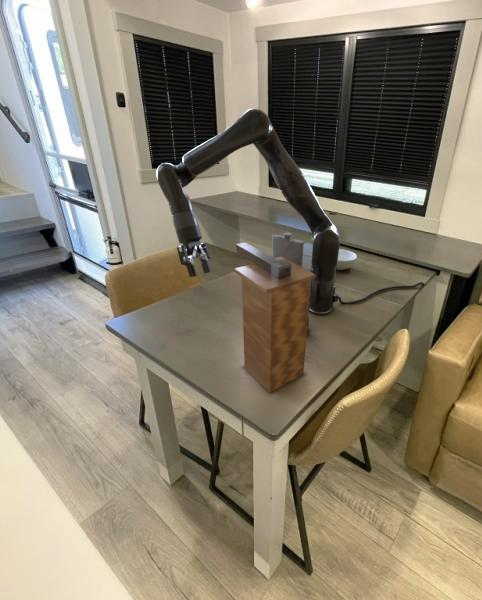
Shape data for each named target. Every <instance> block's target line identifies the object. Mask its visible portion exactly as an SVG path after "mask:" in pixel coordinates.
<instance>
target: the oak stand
mask: <svg viewBox="0 0 482 600" xmlns="http://www.w3.org/2000/svg"><path fill="white" fill-rule="evenodd" d="M275 259H277V260H278V261H280V260H286V261H288V262H290V263H292V267H291V275H290V276H287V277H284V278H280V279H277V278H276V277H274V276H272V275H271V273H270V272H268V271H266V270H265V269H263V268H261V267H260V266H258V265H256V264H255V263H251V264H247V265H242V266H238V267H235V268H233V272H234V273H235V274H236V275H238V276H240V277H241V296H242V298H241V303H242V325H243V326H242V331H243V332H242V333H243V334H242V335H243V360H244V361H243V362H244V368H245V369H246V370H247V372H249V373H250V375H252V376H253V377H254V378H255V380H257V381H258V382H259V383H260V384H261V385H262V386H263V387H264V388H265V389H266V390H267V392H269V393H272V392H273V391H275V390H277V389H280V388H281V387H283V386H285V385H287V384H288V383H290V382H293V381H294V380H295V379H298V378H300V377H301V376H303V375H304V371H305V370H304V369H305V356H306V347H307V346H306V345H307V335H308V332H307V323H308V317H309V313H308V311H309V299H310V286H311V279H314V278H316V274H314V273H312V272H311V270H308V269H306V268H304V267H303V266H302V267H300V266H299V265H297V264H295V263H293V262H291V261H289V260H287V259H285V258H283V257H278V258H275ZM309 312H310V311H309Z"/></svg>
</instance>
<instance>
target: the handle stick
mask: <svg viewBox="0 0 482 600" xmlns="http://www.w3.org/2000/svg"><path fill="white" fill-rule="evenodd" d="M235 252H236V254H238V255H240V256H241V257H243V258H244V259H246V260H248V261H250V262H252V264H254V263H255V264H256V265H258V266H260V267H261V268H263V269H265V270H266V271H268V272H270V273H271V275H272V276H274V277H276V278H277V279H280V278H284V277H287V276H290V275H291V267H292V263H290V262H288V261H286V260H280V261H278V260H277V259H275V258H273V257H272V255H270V254H267V253H266V252H264V251H262V250H260V249H258V248H257V247H255V246H253V245H251V244H249V243H248V242H241V243H236V244H235Z"/></svg>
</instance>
